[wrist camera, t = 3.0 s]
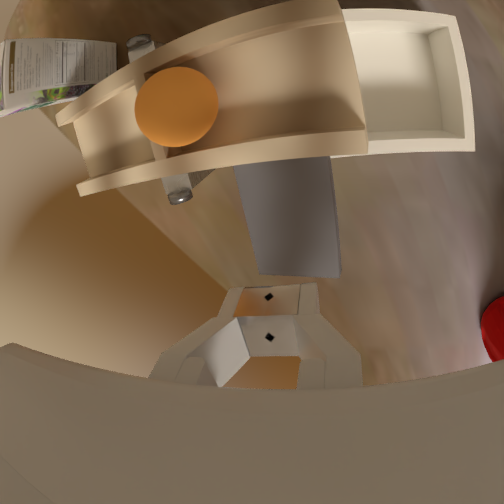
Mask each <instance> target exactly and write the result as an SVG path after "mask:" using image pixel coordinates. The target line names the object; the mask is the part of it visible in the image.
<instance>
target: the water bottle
mask: <svg viewBox="0 0 504 504" xmlns="http://www.w3.org/2000/svg"><path fill="white" fill-rule="evenodd" d="M481 331H482V339H483V343H484V346H485V348H486V350H487V352H488V355H489V357H490V359H491V360H492V362H496V361H499V360H503V359H504V296H502V297H500V298H498V299H496V300H495V301H494V302H492V303H491V304H489V306H488V307H487V309H486V310H485V312H484V313H483V316H482V320H481Z"/></svg>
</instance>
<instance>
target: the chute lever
mask: <svg viewBox="0 0 504 504" xmlns="http://www.w3.org/2000/svg"><path fill="white" fill-rule="evenodd" d="M171 67H187V68H191V69H194V70H196V71H199V72H200V73H202V74H204V75H205V76H206V77H207V78H208V79H209V80H210V81H211V82H212V84H213V86H214V87H215V90H216V92H217V96H218V104H219V105H218V113H217V117H216V119H215V121H214V123H213V125H212V127H211V128H210V130H209V131H208V132H207V133H206V134H205V135H204V136H203V137H201V138H200V139H199V140H197V141H195V142H193V143H191V144H188V145H185V146H180V147H167V146H162V145H159V144H157V143H155V142H153V141H151V140H150V139H148V138H147V137H146V136H145V135H144V134H143V133H142V131H141V130H140V128H139V127H138V124H137V122H136V118H135V112H134V107H135V100H136V97H137V94H138V92H139V90H140V88H141V87H142V85H143V84H144V83H145V82H146V81H147V80H148V79H149V78H150V77H151V76H153V75H154V74H156V73H157V72H159V71H161V70H164V69H167V68H171ZM55 116H56V120H57V124H58V127H59V126H62V125H65V124H68V123H71V122H73V123H74V127H75V131H76V134H77V138H78V141H79V145H80V148H81V151H82V155H83V158H84V161H85V164H86V167H87V170H88V173H89V176H90V178H89V179H87V180H85V181H83V182H81V183H79V184H77V188H78V191H79V194H80V196H85V195H88V194H92V193H96V192H99V191H104V190H108V189H112V188H116V187H121V186H125V185H129V184H134V183H138V182H143V181H148V180H153V179H158V178H163V177H168V176H173V175H178V174H184V173H190V172H195V171H201V170H208V169H214V168H221V167H227V166H233V168H234V172H235V176H236V180H237V184H238V188H239V193H240V197H241V201H242V205H243V209H244V213H245V217H246V221H247V225H248V229H249V233H250V237H251V241H252V246H253V250H254V254H255V258H256V262H257V266H258V270H259V274H264V275H283V276H303V277H325V278H340V274H341V270H342V269H341V253H340V240H339V228H338V218H337V208H336V199H335V190H334V182H333V174H332V167H331V160H330V156H336V155H357V154H368V145H369V142H368V134H367V127H366V119H365V113H364V106H363V100H362V95H361V89H360V84H359V79H358V74H357V69H356V64H355V60H354V55H353V51H352V47H351V43H350V39H349V35H348V31H347V27H346V24H345V20H344V17H343V13H342V10H341V7H340V5H339V3H338V1H337V0H292V1H287V2H283V3H278V4H274V5H270V6H266V7H263V8H259V9H256V10H252V11H249V12H246V13H242V14H239V15H236V16H233V17H230V18H227V19H224V20H222V21H219V22H216V23H213V24H211V25H208V26H206V27H203V28H201V29H198V30H196V31H193V32H191V33H189V34H187V35H184V36H182V37H180V38H178V39H175V40H173V41H171V42H169V43H167V44H165V45H163V46H161V47H159V48H157V49H155V50H153V51H151V52H149V53H147V54H146V55H144V56H142V57H140V58H138V59H137V60H135V61H133V62H131V63H130V64H128V65H126V66H125V67H123V68H121V69H120V70H118V71H116V72H115V73H113V74H112V75H110V76H108V77H107V78H105V79H104V80H102V81H101V82H99V83H98V84H96V85H95V86H93V87H92V88H91V89H89V90H88V91H86V92H85V93H84V94H82V95H81V96H79V97H78V98H77V99H75V100H74V101H73V102H71V103H70V104H69V105H68V106H66V107H65V108H64V109H63V110H61V111H60V112H59V113H58V114H56V115H55Z"/></svg>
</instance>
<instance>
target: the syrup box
mask: <svg viewBox="0 0 504 504" xmlns="http://www.w3.org/2000/svg"><path fill="white" fill-rule="evenodd" d="M116 71H117V60H116V43H113V42H105V41H96V40H85V39H66V38H23V39H7V40H4V41H3V42H2V43H1V44H0V117H3V116H6V115H10V114H14V113H17V112H21V111H26V110H30V109H34V108H39V107H43V106H48V105H53V104H58V103H63V102H68V101H73V100H75V99H77V98H78V97H79V96H81V95H82V94H84V93H85V92H86V91H88V90H89V89H91V88H92V87H93V86H95V85H96V84H98V83H99V82H101V81H102V80H104V79H105V78H107V77H108V76H110V75H112V74H113V73H115V72H116Z"/></svg>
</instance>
